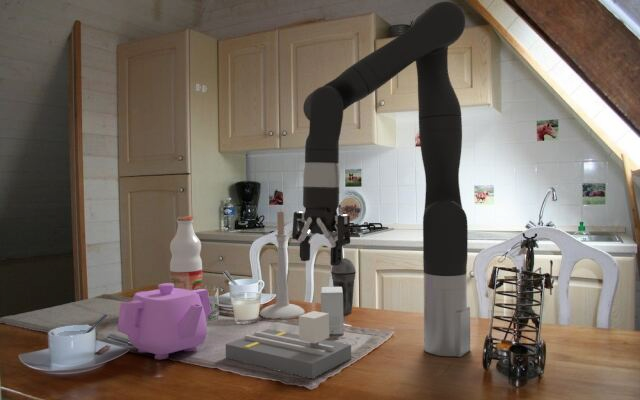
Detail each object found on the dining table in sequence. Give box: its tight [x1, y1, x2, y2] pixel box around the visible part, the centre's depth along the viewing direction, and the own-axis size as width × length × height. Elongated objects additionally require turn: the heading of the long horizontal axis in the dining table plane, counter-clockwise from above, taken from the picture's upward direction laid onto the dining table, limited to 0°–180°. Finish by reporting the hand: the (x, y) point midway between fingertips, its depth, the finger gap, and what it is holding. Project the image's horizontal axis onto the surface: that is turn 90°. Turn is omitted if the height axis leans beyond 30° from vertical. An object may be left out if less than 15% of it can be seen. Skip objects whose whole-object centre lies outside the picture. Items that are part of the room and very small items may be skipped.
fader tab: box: [298, 310, 330, 349], centre depth 108 cm, size 4×5×7 cm
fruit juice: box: [169, 215, 203, 291], centre depth 159 cm, size 9×9×28 cm
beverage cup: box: [330, 247, 357, 315], centre depth 153 cm, size 7×7×20 cm
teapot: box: [116, 282, 212, 360], centre depth 120 cm, size 19×18×15 cm
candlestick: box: [259, 209, 306, 320], centre depth 152 cm, size 13×13×30 cm
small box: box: [320, 286, 345, 336], centre depth 134 cm, size 8×6×10 cm
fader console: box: [225, 328, 352, 379], centre depth 113 cm, size 23×14×4 cm, turn 55°
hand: (319, 262), depth 110 cm, fingers open, 8 cm apart
